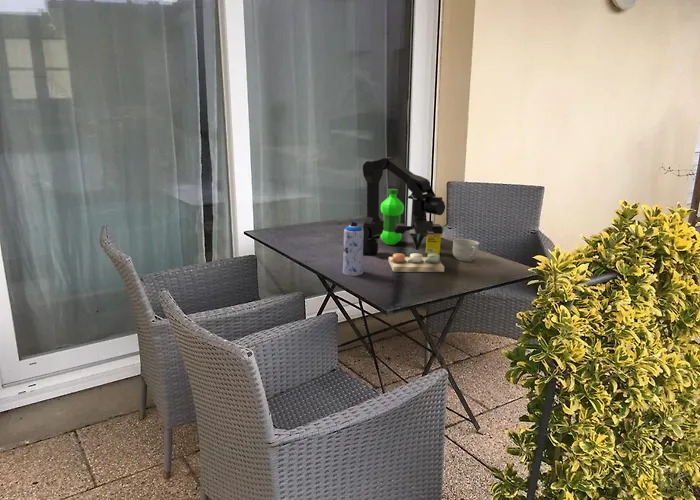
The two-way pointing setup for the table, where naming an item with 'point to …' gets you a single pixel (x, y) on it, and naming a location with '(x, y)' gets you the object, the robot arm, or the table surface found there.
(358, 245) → the aerosol can
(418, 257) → the cream button
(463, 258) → the teacup
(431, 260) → the sage button
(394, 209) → the plastic bottle
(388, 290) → the table surface
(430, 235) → the supplement box
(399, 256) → the rust button
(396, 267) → the panel
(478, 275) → the table surface
